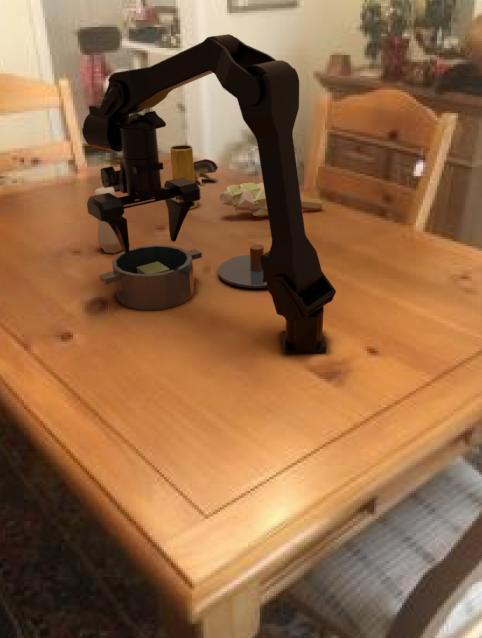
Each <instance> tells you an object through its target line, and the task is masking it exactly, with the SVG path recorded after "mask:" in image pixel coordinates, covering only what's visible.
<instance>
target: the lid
mask: <svg viewBox="0 0 482 638" xmlns="http://www.w3.org/2000/svg"><path fill="white" fill-rule="evenodd" d="M263 254H265V247H264V245H262V244H260V243H259V244H258V243H257V244H252V245H250V246H249V254H244V255H243V254H242V255H239V256H235V257H232V258H228V259H227V260H225V261H223V262H222V263H221V264H220V265H219V266H218V269H217V274H218V277H219V278H220V279H221V280H222V281H224V282H225V283H227V284H230V285H233V286H236V287H241V288H249V289H264V288H267V283H266V282H265V283H263V269H262V266H261V263H260V257H261V255H263Z"/></svg>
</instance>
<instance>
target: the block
mask: <svg viewBox="0 0 482 638" xmlns="http://www.w3.org/2000/svg"><path fill="white" fill-rule="evenodd" d="M167 271H170V269H169V268H168V267H166V266H164V265H163V264H161V263H160V262H158V261H157V262H154V263H150V264H146V265H143V266H139V267H137V274H156V273H164V272H167Z"/></svg>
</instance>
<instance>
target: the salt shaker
mask: <svg viewBox="0 0 482 638" xmlns="http://www.w3.org/2000/svg"><path fill="white" fill-rule="evenodd" d="M105 193H110V194H112V195H114V196H116V197H117V192H115V191H114V188H113V187H108V188H105V187H104V186H102V187H98V188H97V189H95V191H94V196H95V195H100V194H105ZM97 242H98V244H99V246H100V247H101V249H103V251H104V253H107V254H115V253H116V254H117V253H119V252H120V253H121V252H122V251H123V249H122V247H121V245H120V243H119V241H118V239H117V237H116V235H115V233H114V231H113V229H112V228H111V227H110V225H109V224H108V223H106V222H104V221H100V220H99V219H97Z"/></svg>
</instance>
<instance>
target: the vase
mask: <svg viewBox="0 0 482 638" xmlns="http://www.w3.org/2000/svg"><path fill="white" fill-rule="evenodd" d="M169 151H170V161H171V163H170V164H171V178H172V179H171V180H173V179H178V178H185V179H188V180H190V181H192V182H195V183H196V179H195V174H194V153H193V151H194V150H193V146H192V145H188V144H175V145H172V146H170V149H169ZM193 202H194V206H192V207H190V209H189V210H193V209H196V208H197V207H198V205H199V204H198V201H193Z"/></svg>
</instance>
